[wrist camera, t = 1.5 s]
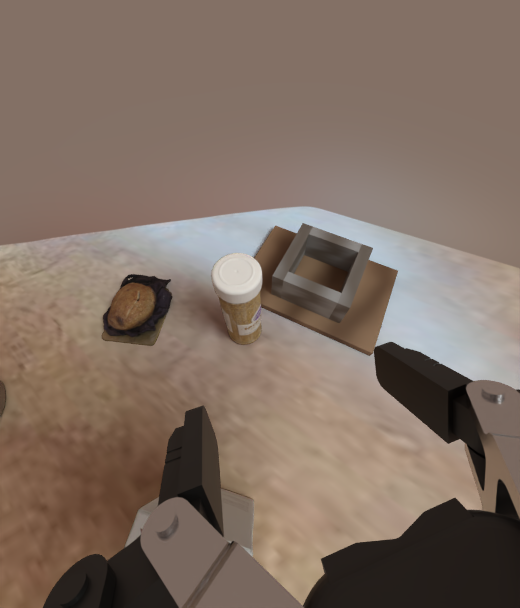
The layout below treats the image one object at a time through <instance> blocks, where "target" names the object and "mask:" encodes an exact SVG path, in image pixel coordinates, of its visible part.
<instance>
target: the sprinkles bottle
mask: <svg viewBox="0 0 520 608" xmlns="http://www.w3.org/2000/svg"><path fill="white" fill-rule="evenodd" d="M211 277H212V282H213V286H214V289H215V292H216V293H217V295H218V296H219V300H220V305H221V309H222V312H223V316H224V319H225V322H226V325H227V327H228V333H229V336H230V337H231V339H232V340H233V341H235V342H236V343H238V344H242V345H245V344H250V343H253V342H254V341H255V340H256V339H258V337H259V336H260V334H261V303H260V302H261V300H260V299H261V298H260V290H261V287H262V270H261V266H260V265H259V263H258V262H257V261H256V260H255V259H254V258H253V257H251V256H249V255H247V254H242V253H233V254H229V255H226V256H224V257H222V258H221V259H219V260H218V261H217V262H216V263H215V265H214V267H213V269H212V274H211Z"/></svg>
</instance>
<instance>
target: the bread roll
mask: <svg viewBox="0 0 520 608" xmlns="http://www.w3.org/2000/svg"><path fill="white" fill-rule="evenodd" d="M130 277H131V278H132V277H133V278H132V279H130V280H128V278H130ZM170 281H171V279H169V280H162V279H158V278H156V277H155V276H152V277H148V276H144V275H135V274H131V275H128V276H127V277H125V279H124V281H123V282H122V285H121V288H120V290H119V291H118V292H117V294H116V295H115V297H114V298H113V300H112V304H111V306H110V307H109V308H108V311H107V312H106V313H105V314H104V316H103V320H104V321H103V322H104V332H103V334H102V339H103V340H105V341H115V342H123V343H131V344H140V345H148V346H152V345H154V344H155V342H156V340H157V338H158V336H159V333H160V330H161V328H162V325H163V322H164V319H165V317H166V314H167V312H168V309H169V307H170V302H171V299H172V296H171V295H172V293H171V292H169V290H168V289H167V288H166V285H167V284H168V283H169V282H170Z"/></svg>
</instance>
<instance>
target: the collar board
mask: <svg viewBox="0 0 520 608" xmlns="http://www.w3.org/2000/svg"><path fill="white" fill-rule="evenodd" d="M372 249H373V248H371V247H368V246H366V245H363V244H360V243H357V242H354V241H351V240H349V239H346V238H343V237H340V236H337V235H335V234H332V233H329V232H326V231H323V230H321V229H318V228H315V227H312V226H309V225H307V224H304V223H303V224H302V226H301V228H300V229H299V231H298V233H294V232H291V231H288V230H286V229H283V228H280V227H277V226H275V227H274V229H273V230H272V232H271V233H270V235H269V236H268V238H267V239H266V241H265V243H264V244H263V246H262V247H261V249H260V250H259V252H258V253H257V255H256V256H255V258H254V259H255V260H256V261H257V262H258V263H259V265H260V266H261V270H262V287H261V290H260V298H261V299H260V300H261V302H260V303H261V307H262V308H265V309H267V310H269V311H271V312H273V313H276V314H278V315H280V316H282V317H285V318H287V319H289V320H291V321H293V322H296V323H298V324H300V325H302V326H305V327H307V328H309V329H311V330H314V331H316V332H318V333H320V334H322V335H325V336H327V337H329V338H331V339H334V340H336V341H338V342H340V343H342V344H345V345H347V346H349V347H351V348H354V349H356V350H358V351H360V352H362V353H365V354H367V355H369V356H370V355H371V354H373V351H374V348H375V344H376V341H377V338H378V335H379V331H380V328H381V325H382V322H383V318H384V315H385V312H386V308H387V305H388V302H389V299H390V295H391V292H392V289H393V286H394V282H395V279H396V276H397V273H398V271H397V270H394V269H392V268H389V267H386V266H384V265H381V264H378V263H375V262H373V261H370V260H369V257H370V255H371V252H372Z"/></svg>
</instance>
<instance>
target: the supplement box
mask: <svg viewBox="0 0 520 608" xmlns="http://www.w3.org/2000/svg"><path fill="white" fill-rule="evenodd" d="M221 499H222V513H223V528H224V537H223V538H224V539H225V540H227V541H228V542H229V543H231V542H232V541H235V542H237V543H238V544H239V545H241V546H242V547H243V548H244V549H245V550H246V551H247V552H248V553H249V554H250V555H251V556H252V557H253V547H252V539H253V522H254V500H252V499H250V498H247V497H244V496H242V495H239V494H236V493H233V492H230V491H228V490H225V489H222V488H221ZM158 501H159V497H158V498H156V499H154V500H153V501H151V502H149V503H148V504H146V505H144V506H143V507H141V508H140V509H139V510H138V512H137V515H136V517H135V520H134V523H133V525H132V528H131V531H130V533H129V536H128V539H127V541H126V544H125V546H124V548H125V547H127V546H128V545H129V544H131V543H132V542H133V541H134V540H136V539H137V538H138V537H139V536H140V535H141V532H142V529H143V526H144V524H145V522H146V520H147V519H148V517H149V516H150V514H151V513H152V512H153V511H154V510H155V509H156V508H157V506H158Z"/></svg>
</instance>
